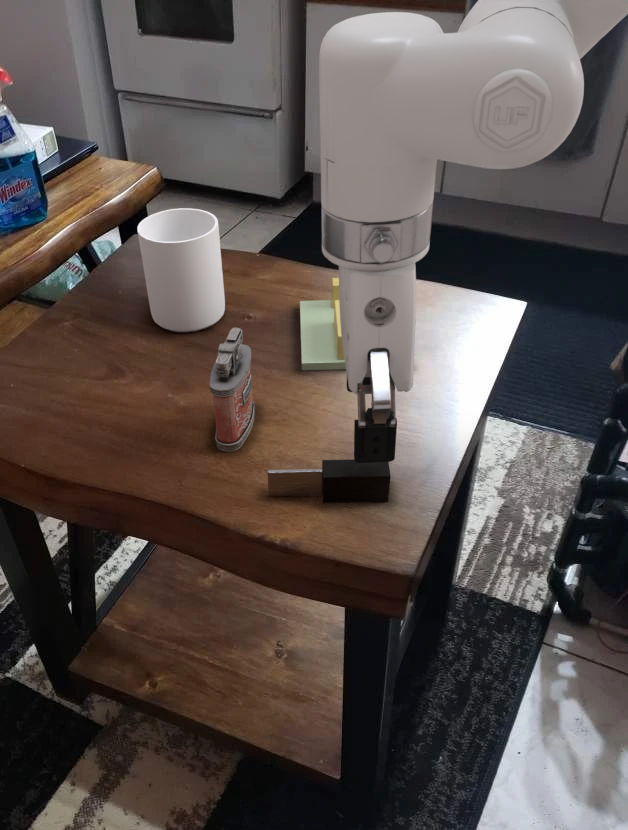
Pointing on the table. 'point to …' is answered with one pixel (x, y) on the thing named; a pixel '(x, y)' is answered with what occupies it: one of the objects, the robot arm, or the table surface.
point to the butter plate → (318, 336)
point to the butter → (338, 330)
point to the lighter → (232, 392)
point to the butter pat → (335, 290)
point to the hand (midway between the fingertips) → (369, 423)
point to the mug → (183, 268)
